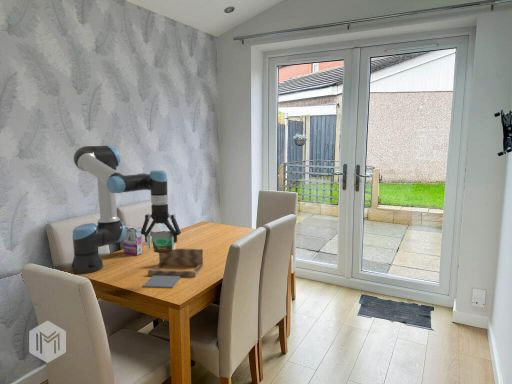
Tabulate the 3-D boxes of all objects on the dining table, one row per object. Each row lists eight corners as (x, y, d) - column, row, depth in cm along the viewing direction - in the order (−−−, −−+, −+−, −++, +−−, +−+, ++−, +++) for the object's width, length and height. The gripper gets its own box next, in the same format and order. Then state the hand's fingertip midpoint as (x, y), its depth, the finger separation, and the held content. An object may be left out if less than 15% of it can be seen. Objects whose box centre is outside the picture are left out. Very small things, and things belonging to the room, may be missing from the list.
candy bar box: (143, 253, 216) (142, 227, 213) (137, 255, 211) (135, 228, 209) (130, 250, 221) (128, 225, 218) (123, 253, 216) (122, 226, 214)
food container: (150, 254, 165) (150, 233, 164) (150, 250, 171) (149, 230, 170) (177, 252, 169) (177, 232, 167) (176, 248, 175) (176, 228, 173)
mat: (142, 287, 165) (142, 285, 165) (153, 275, 179) (153, 274, 179) (172, 287, 164) (172, 286, 164) (181, 276, 178) (181, 275, 178)
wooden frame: (148, 275, 180) (147, 258, 178) (160, 263, 197) (159, 248, 196) (195, 276, 178) (194, 259, 176) (203, 265, 195) (202, 249, 194)
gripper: (131, 204, 164) (134, 250, 167) (182, 205, 162) (183, 251, 165) (138, 202, 171) (140, 246, 174) (186, 202, 169) (188, 247, 172)
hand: (161, 249), depth 169 cm, fingers closed on food container, 11 cm apart
